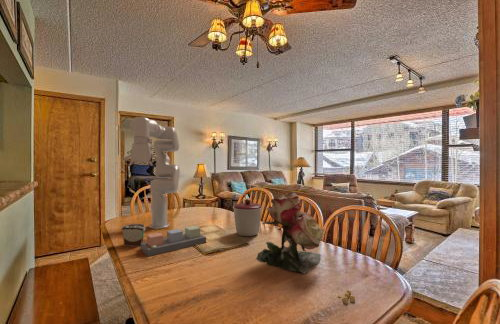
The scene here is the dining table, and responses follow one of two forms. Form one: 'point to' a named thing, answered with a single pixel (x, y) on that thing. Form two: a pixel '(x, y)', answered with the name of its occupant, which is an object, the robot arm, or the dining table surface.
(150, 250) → the console
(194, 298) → the dining table surface
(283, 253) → the rose bouquet
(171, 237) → the button blue
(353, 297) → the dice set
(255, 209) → the canister
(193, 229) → the button sage
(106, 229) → the dining table surface
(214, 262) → the dining table surface
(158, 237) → the button terracotta
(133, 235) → the grey rimmed container
